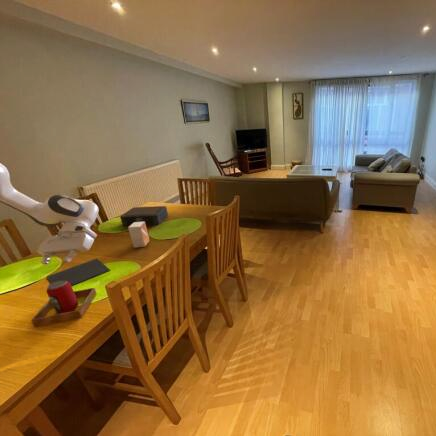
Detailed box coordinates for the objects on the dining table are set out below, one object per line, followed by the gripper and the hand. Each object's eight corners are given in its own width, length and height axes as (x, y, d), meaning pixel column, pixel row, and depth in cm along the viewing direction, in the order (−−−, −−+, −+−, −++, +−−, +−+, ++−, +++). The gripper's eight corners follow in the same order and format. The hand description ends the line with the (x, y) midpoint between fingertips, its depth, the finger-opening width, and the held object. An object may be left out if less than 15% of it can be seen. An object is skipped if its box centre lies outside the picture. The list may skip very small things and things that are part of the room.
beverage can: (57, 308, 95) (45, 283, 90) (79, 300, 99) (68, 276, 94) (56, 318, 90) (44, 292, 86) (79, 309, 94) (68, 284, 90)
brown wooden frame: (34, 327, 86) (31, 320, 85) (56, 301, 99) (53, 294, 97) (82, 317, 90) (79, 310, 89) (96, 293, 103) (94, 287, 102)
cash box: (121, 227, 167) (118, 216, 164) (135, 216, 186) (132, 207, 183) (159, 225, 170) (156, 215, 167) (169, 214, 188) (167, 205, 186)
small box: (145, 246, 141) (139, 226, 136) (133, 247, 140) (127, 227, 135) (150, 240, 148) (145, 221, 143) (138, 241, 147) (133, 222, 142)
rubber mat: (57, 292, 104) (56, 291, 104) (47, 277, 114) (46, 276, 114) (110, 270, 119) (109, 269, 119) (97, 259, 129) (96, 258, 128)
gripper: (44, 231, 100) (22, 261, 92) (89, 226, 99) (71, 256, 90) (57, 239, 105) (38, 268, 97) (100, 234, 104) (85, 263, 95)
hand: (55, 262), depth 94 cm, fingers open, 8 cm apart
